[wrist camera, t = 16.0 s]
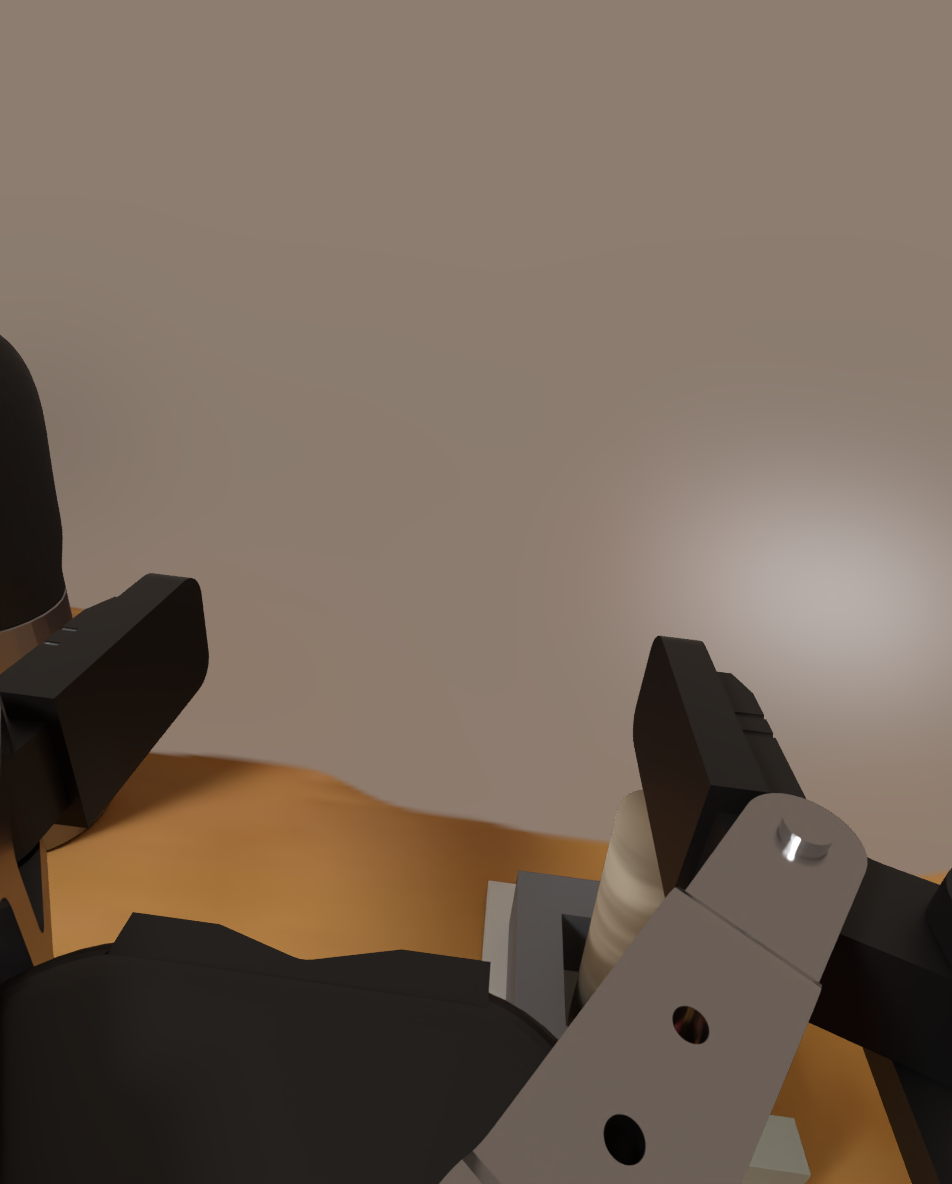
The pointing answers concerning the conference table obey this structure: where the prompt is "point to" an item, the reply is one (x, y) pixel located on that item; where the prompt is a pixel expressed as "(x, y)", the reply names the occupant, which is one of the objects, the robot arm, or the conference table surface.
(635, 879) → the dowel
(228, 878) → the conference table surface
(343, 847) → the conference table surface
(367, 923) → the conference table surface
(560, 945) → the dowel dock
